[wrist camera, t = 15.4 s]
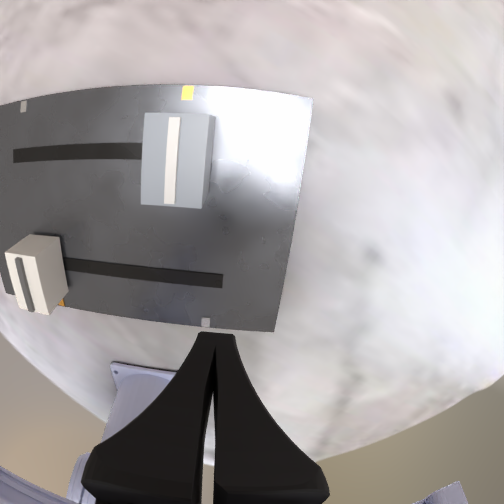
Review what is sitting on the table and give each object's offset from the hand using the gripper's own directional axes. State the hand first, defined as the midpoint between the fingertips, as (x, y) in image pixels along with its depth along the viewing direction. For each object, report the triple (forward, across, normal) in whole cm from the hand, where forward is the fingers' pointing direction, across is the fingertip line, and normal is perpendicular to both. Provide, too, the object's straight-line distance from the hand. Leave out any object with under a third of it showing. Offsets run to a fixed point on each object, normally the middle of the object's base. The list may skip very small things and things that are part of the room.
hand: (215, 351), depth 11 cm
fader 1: (+8, +13, +2) cm, 15 cm away
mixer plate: (+9, +8, -2) cm, 13 cm away
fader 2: (+8, +3, -6) cm, 11 cm away
